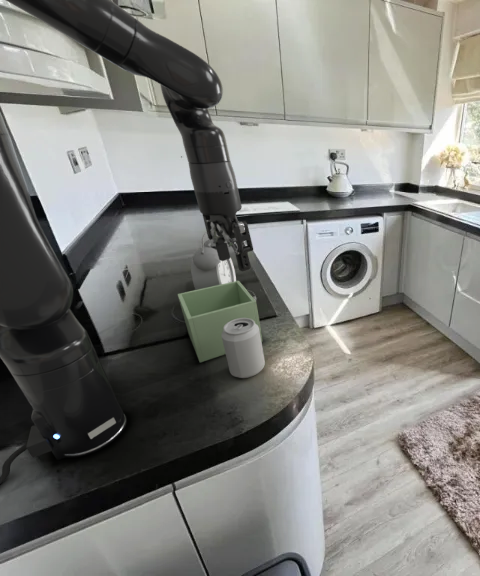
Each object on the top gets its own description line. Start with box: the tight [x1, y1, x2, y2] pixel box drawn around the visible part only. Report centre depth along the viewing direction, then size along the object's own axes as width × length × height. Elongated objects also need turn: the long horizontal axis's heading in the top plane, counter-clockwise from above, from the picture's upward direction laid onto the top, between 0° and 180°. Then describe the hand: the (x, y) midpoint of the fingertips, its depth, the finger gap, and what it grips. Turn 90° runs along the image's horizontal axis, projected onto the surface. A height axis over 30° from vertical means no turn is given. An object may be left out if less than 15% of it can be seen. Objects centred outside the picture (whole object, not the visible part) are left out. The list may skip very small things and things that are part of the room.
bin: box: [177, 280, 264, 363], centre depth 81 cm, size 15×15×12 cm
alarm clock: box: [190, 231, 237, 290], centre depth 97 cm, size 16×9×22 cm, turn 12°
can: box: [221, 318, 266, 379], centre depth 71 cm, size 8×8×12 cm
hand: (234, 264), depth 69 cm, fingers open, 8 cm apart
